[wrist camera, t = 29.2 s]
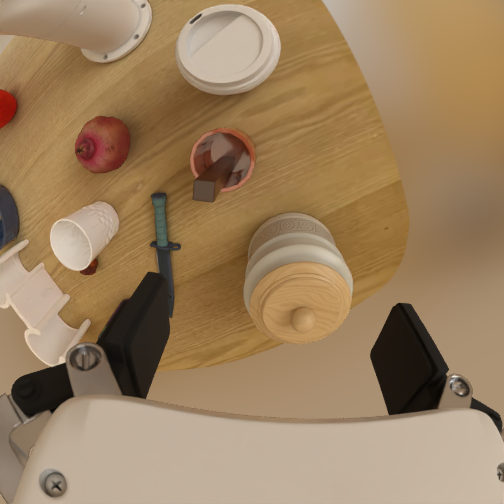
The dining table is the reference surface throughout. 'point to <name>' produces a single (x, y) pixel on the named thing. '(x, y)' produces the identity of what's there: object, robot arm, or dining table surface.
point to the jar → (296, 280)
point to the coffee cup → (227, 49)
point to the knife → (163, 245)
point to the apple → (6, 107)
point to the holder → (225, 154)
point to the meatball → (90, 268)
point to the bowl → (7, 218)
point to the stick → (213, 179)
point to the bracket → (38, 307)
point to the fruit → (103, 144)
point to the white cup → (83, 234)
